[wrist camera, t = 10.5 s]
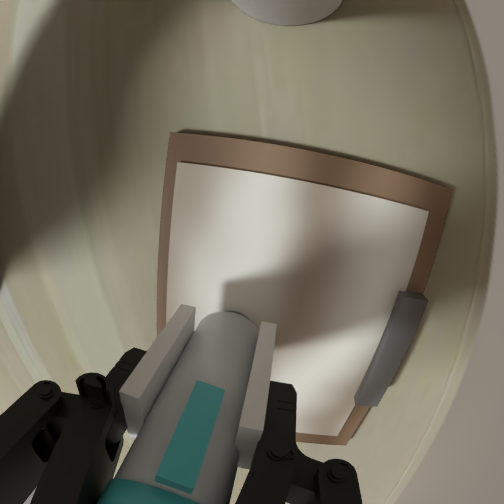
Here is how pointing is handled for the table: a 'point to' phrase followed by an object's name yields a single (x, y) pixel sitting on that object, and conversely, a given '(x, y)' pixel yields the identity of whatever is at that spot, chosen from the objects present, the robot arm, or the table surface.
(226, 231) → the clipboard
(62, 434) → the robot arm
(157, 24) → the table surface
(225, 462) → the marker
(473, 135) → the table surface
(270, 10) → the coffee cup
